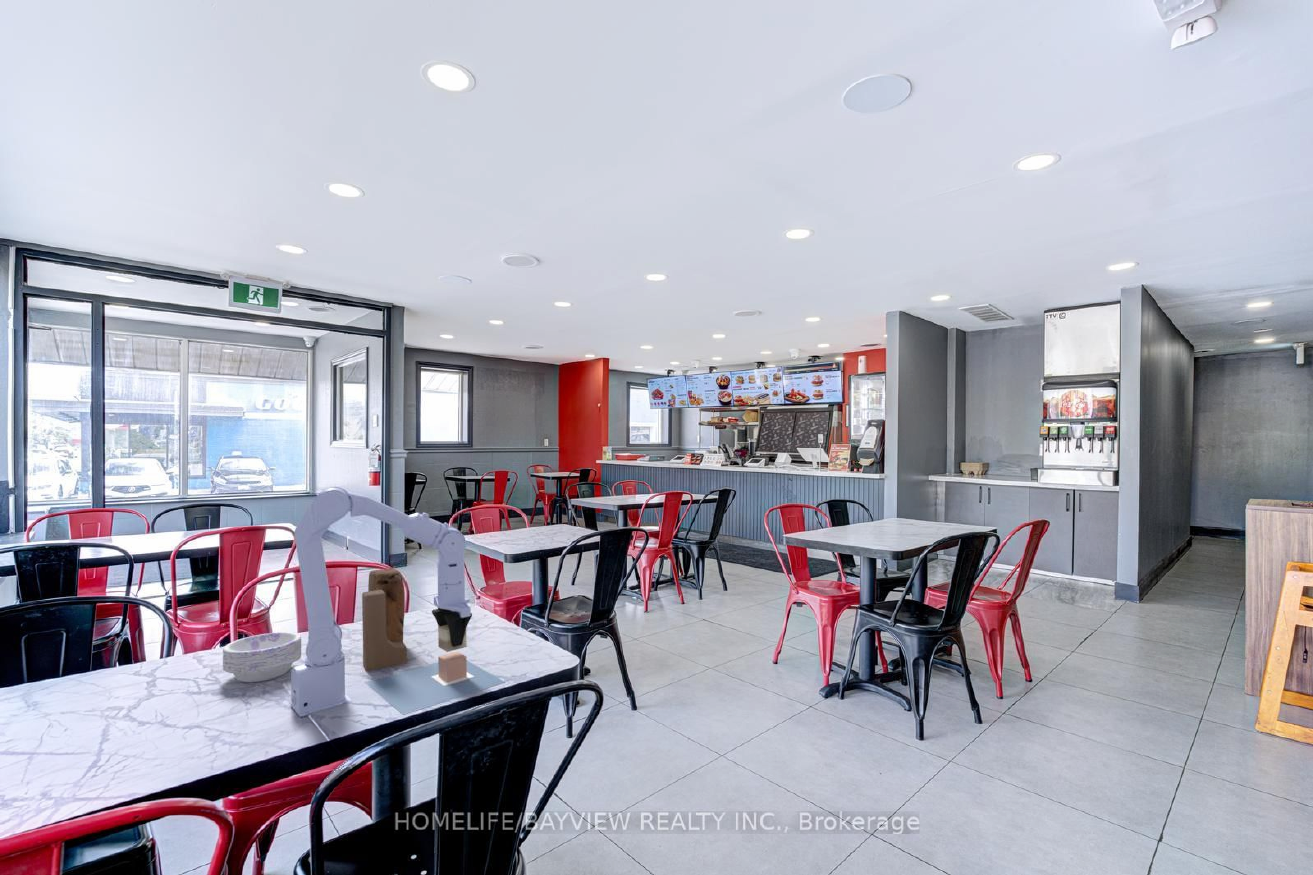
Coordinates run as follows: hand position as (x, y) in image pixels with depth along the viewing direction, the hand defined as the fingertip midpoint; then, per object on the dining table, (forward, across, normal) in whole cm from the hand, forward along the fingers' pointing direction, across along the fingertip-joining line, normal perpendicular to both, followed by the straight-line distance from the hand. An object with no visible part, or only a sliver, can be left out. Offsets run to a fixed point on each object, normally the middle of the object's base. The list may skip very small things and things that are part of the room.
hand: (452, 642), depth 136 cm
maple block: (+1, 0, 0) cm, 1 cm away
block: (+8, +32, +3) cm, 33 cm away
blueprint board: (+8, 0, +4) cm, 9 cm away
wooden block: (+8, +19, +8) cm, 22 cm away
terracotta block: (+8, 0, 0) cm, 8 cm away
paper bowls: (+8, +34, +30) cm, 46 cm away
